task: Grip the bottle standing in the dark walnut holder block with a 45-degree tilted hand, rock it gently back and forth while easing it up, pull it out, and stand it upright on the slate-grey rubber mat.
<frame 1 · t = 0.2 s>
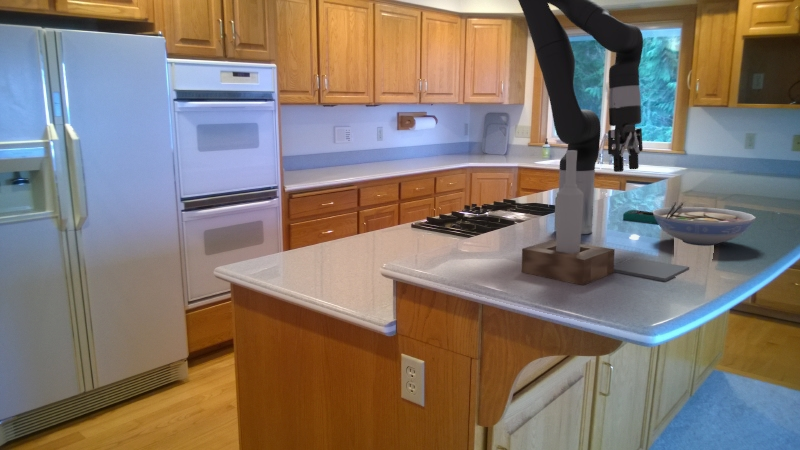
hand: (626, 170, 148), 18 cm above the countertop, tool pointing down, fingers open, 8 cm apart
slate mat: (647, 270, 121), on the countertop
walnut holder: (567, 272, 120), on the countertop
ramen bowl: (699, 243, 145), on the countertop
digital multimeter: (650, 222, 176), on the countertop
bottle: (567, 273, 120), resting in walnut holder
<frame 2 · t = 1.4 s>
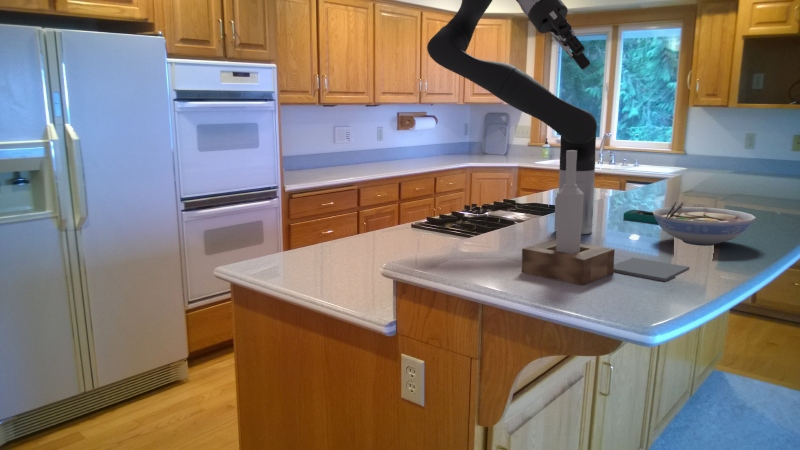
hand: (583, 59, 123), 43 cm above the countertop, tool tilted 40°, fingers open, 8 cm apart
nothing on the countertop moved.
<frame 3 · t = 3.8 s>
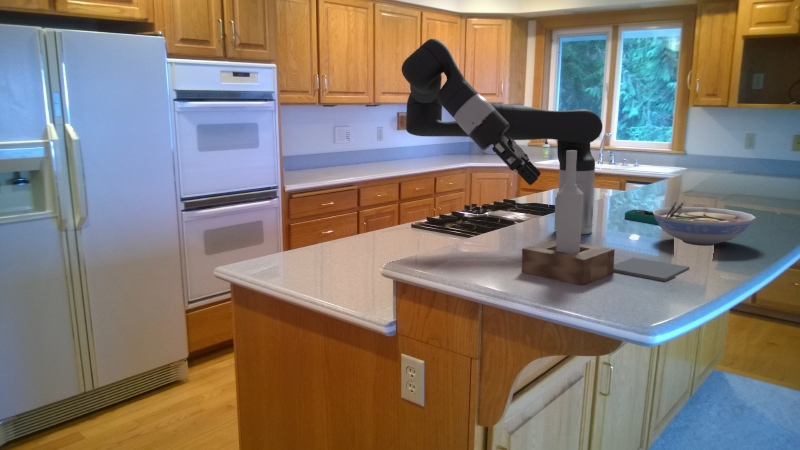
hand: (536, 179, 117), 19 cm above the countertop, tool tilted 45°, fingers open, 8 cm apart
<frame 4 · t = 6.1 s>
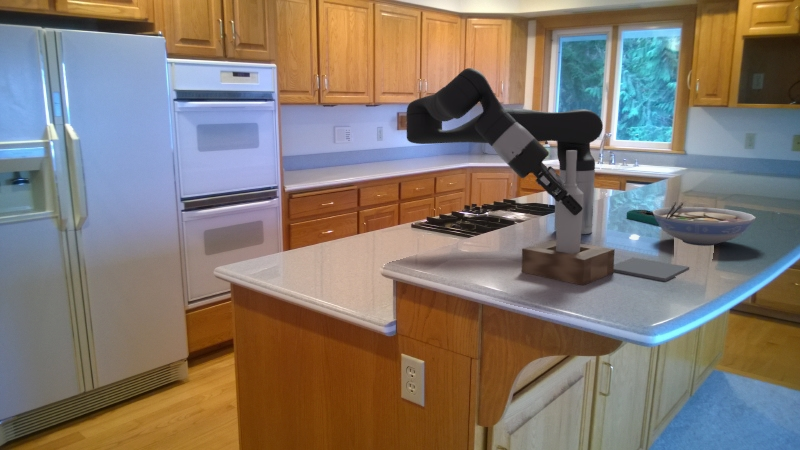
hand: (578, 209, 117), 13 cm above the countertop, tool tilted 45°, fingers closed on bottle, 5 cm apart
bottle: (567, 273, 120), resting in walnut holder, touching gripper
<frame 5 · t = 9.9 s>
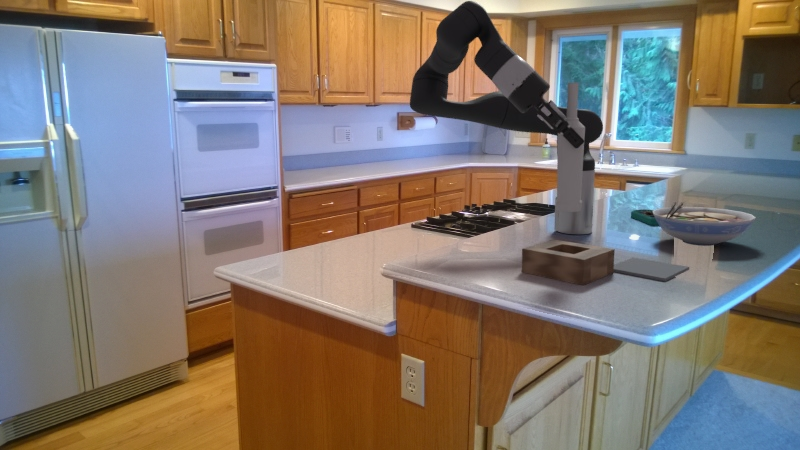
hand: (580, 144, 114), 26 cm above the countertop, tool tilted 45°, fingers closed on bottle, 5 cm apart
bottle: (568, 210, 117), point 13 cm above the countertop, touching gripper
when the fingers open (15 cm above the countertop, at t = 14.0 s): bottle drops 1 cm, resting on slate mat.
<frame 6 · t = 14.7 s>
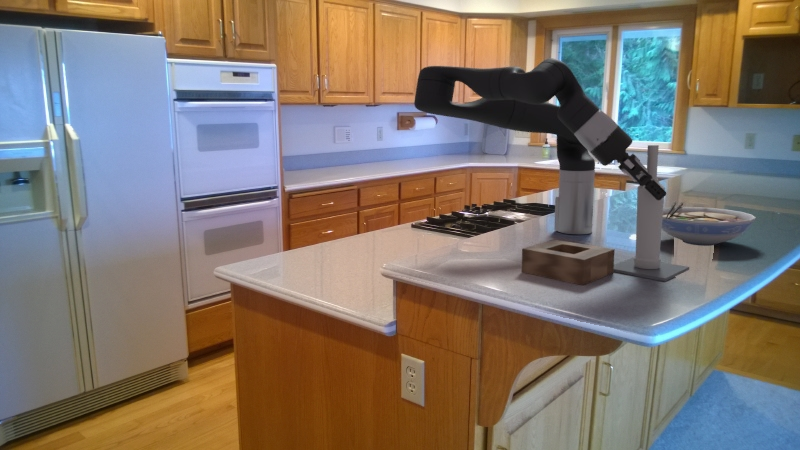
hand: (659, 194, 117), 16 cm above the countertop, tool tilted 45°, fingers open, 8 cm apart
bottle: (646, 267, 121), resting on slate mat
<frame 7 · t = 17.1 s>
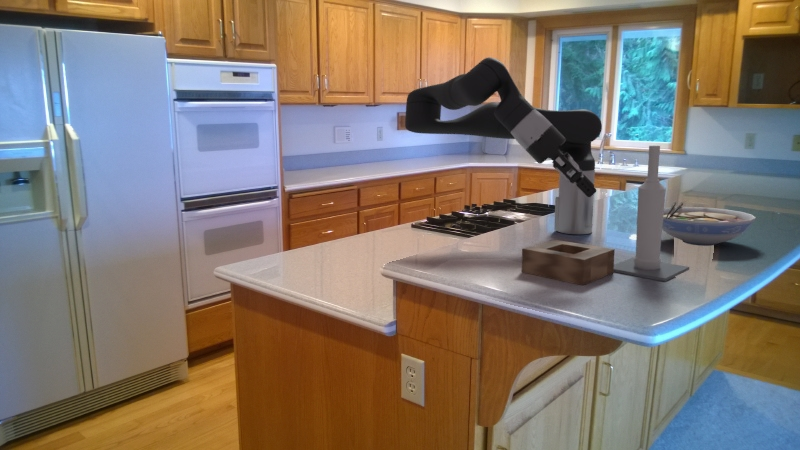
hand: (592, 191, 121), 16 cm above the countertop, tool tilted 45°, fingers open, 8 cm apart
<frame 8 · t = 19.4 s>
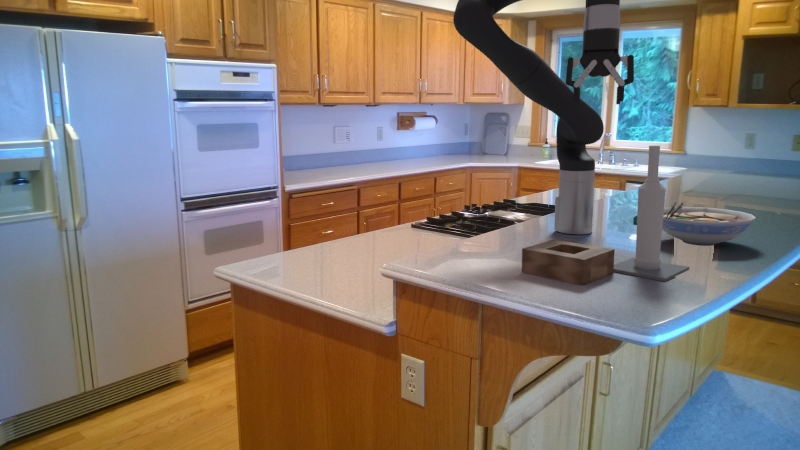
hand: (598, 104, 130), 34 cm above the countertop, tool pointing down, fingers open, 8 cm apart
at the end: bottle inside the target area (0.2 cm from its centre), resting on slate mat; bottle tilted 0°; the gripper is holding nothing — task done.
